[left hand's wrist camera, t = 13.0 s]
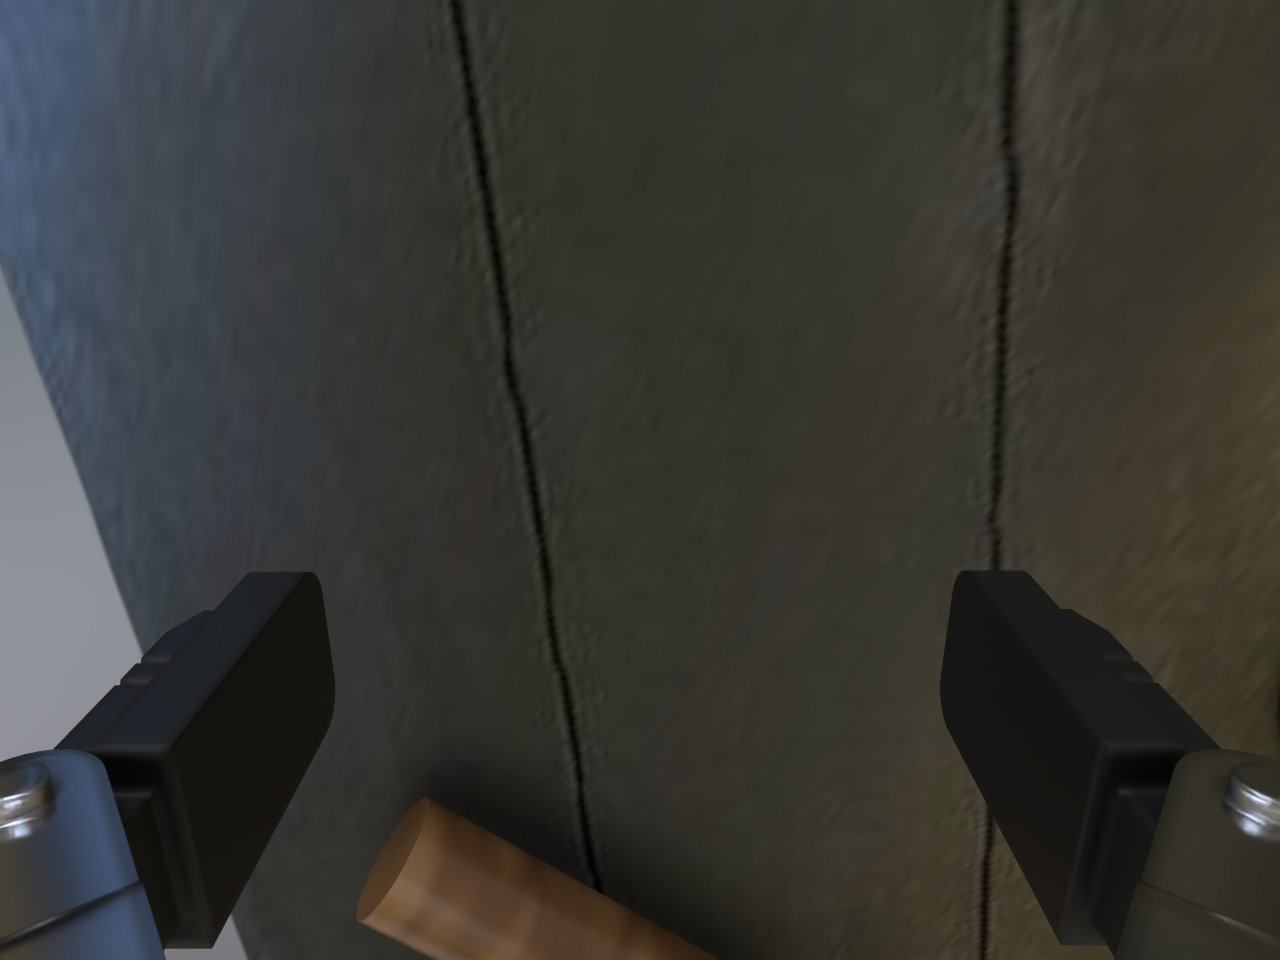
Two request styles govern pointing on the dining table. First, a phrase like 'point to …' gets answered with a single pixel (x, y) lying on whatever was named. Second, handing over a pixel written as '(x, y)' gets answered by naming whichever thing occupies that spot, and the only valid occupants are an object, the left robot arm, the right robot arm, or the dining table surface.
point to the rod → (496, 900)
